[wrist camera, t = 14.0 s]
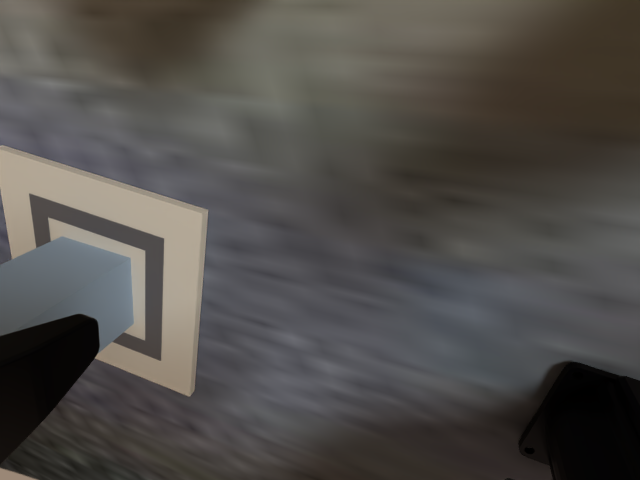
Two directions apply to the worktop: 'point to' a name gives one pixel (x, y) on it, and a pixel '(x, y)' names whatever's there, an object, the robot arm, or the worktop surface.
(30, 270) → the blue block
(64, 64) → the worktop surface
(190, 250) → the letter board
